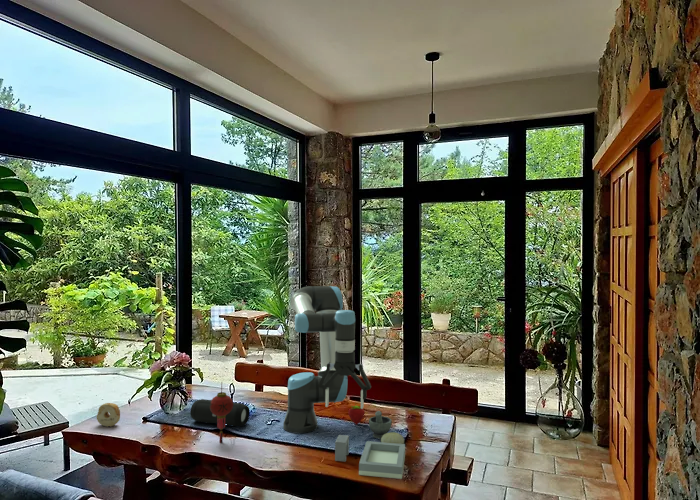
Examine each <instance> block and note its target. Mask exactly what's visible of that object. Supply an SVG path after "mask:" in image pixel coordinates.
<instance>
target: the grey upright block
mask: <svg viewBox="0 0 700 500" xmlns="http://www.w3.org/2000/svg"><path fill="white" fill-rule="evenodd" d="M334 446H335V447H334V461H335V462H346V461H347V456H349V453H350V451H349V450H350V436H349V435H344V434H338V436H337V438H336V439H335V442H334Z"/></svg>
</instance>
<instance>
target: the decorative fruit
mask: <svg viewBox="0 0 700 500" xmlns="http://www.w3.org/2000/svg"><path fill="white" fill-rule="evenodd" d="M350 407H351V408H349V409H348V417H349V418H350V419H351V421H352V422H353V423H354V424H355V426H357V425H359V424H360V422H361V421H362V420H363V418H364V416H365V414H366V413H365V410H364V408H363V409H361V405H356V402H355V405H351V406H350Z"/></svg>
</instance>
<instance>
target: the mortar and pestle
mask: <svg viewBox="0 0 700 500" xmlns="http://www.w3.org/2000/svg"><path fill="white" fill-rule="evenodd" d="M382 414H383V412H382V411H380V410H377V411H375V414H374V415H375V416H371V417H370V418H369V419H368V426H369V429H370V431H371V432H372V437H373V438H374V439H377V438H378V439H379V440H381V438H382V436H383V435H384V434H386V433H390V429H391V427H392V424H393V423H392V419H391V418H390V417H389V416H384V415H382Z"/></svg>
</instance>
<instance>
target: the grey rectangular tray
mask: <svg viewBox="0 0 700 500" xmlns="http://www.w3.org/2000/svg"><path fill="white" fill-rule="evenodd" d="M405 457H406V444H405V443H404V444H396V443H384V442H381V441H370V440H367V441H366V443H365V445H364V448H363V451H362V454H361V456H360V459H359V463H358V476H366V477H367V476H368V477H377V478H378V477H379V478H388V479H389V478H390V479H398V480H399V479H401V480H402V479H403V473H404V467H405V460H406V458H405Z"/></svg>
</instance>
